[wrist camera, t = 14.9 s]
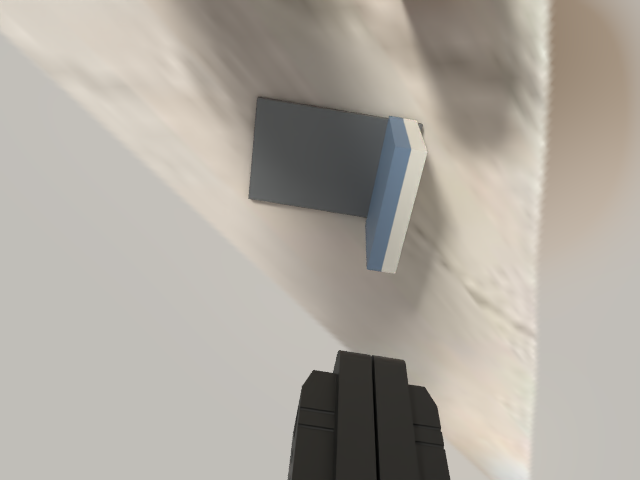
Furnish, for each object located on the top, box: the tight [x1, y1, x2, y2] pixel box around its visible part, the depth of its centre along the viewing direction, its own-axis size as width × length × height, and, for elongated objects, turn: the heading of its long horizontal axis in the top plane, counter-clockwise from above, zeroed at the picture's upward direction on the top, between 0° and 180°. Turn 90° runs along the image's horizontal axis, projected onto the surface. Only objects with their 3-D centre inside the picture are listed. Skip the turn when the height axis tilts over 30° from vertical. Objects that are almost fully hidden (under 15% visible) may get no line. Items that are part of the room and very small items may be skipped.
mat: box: [248, 97, 422, 218], centre depth 39 cm, size 8×12×1 cm, turn 81°
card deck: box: [365, 116, 428, 274], centre depth 37 cm, size 6×2×9 cm
